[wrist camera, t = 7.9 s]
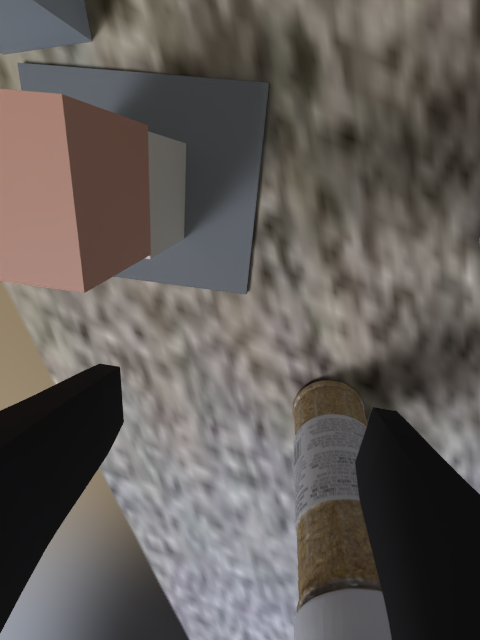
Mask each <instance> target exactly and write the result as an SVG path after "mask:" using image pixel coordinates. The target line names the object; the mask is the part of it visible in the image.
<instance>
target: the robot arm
mask: <svg viewBox="0 0 480 640" xmlns="http://www.w3.org/2000/svg"><path fill="white" fill-rule="evenodd" d="M479 244H480V238H479ZM123 422H124V419H123V405H122V390H121V376H120V367H117V366H111V365H104V364H98V365H96V366H93V367H91V368H89V369H87V370H85V371H83V372H80V373H78V374H76V375H74V376H72V377H70V378H68V379H66V380H64V381H62V382H60V383H58V384H56V385H54V386H52V387H50V388H48V389H46V390H44V391H42V392H40V393H38V394H36V395H34V396H32V397H29V398H27V399H25V400H23V401H21V402H19V403H17V404H14V405H13V406H10V407H8V408H5V409H3V410H1V411H0V633H1V631H2V629H3V627H4V625H5V623H6V621H7V619H8V618H9V616H10V614H11V612H12V610H13V608H14V606H15V604H16V602H17V600H18V599H19V597H20V595H21V593H22V591H23V589H24V587H25V585H26V583H27V582H28V580H29V578H30V577H31V575H32V573H33V571H34V569H35V567H36V566H37V564H38V562H39V560H40V558H41V557H42V555H43V553H44V551H45V549H46V548H47V546H48V544H49V543H50V541H51V539H52V538H53V536H54V535H55V533H56V531H57V530H58V528H59V527H60V525H61V524H62V522H63V521H64V519H65V518H66V516H67V515H68V513H69V512H70V510H71V509H72V507H73V506H74V504H75V503H76V501H77V500H78V498H79V497H80V495H81V494H82V492H83V491H84V489H85V488H86V486H87V485H88V483H89V482H90V480H91V479H92V477H93V476H94V474H95V473H96V471H97V470H98V468H99V467H100V465H101V464H102V462H103V461H104V459H105V458H106V456H107V454H108V453H109V451H110V449H111V447H112V445H113V443H114V441H115V439H116V437H117V435H118V433H119V431H120V429H121V427H122V425H123ZM355 466H356V475H357V484H358V492H359V499H360V504H361V508H362V512H363V516H364V521H365V525H366V529H367V533H368V537H369V541H370V545H371V549H372V553H373V557H374V561H375V565H376V569H377V573H378V577H379V581H380V585H381V589H382V593H383V597H384V602H385V607H386V611H387V616H388V621H389V626H390V632H391V639H392V640H480V494H479V493H478V492H477V491H476V490H474V489H473V488H472V487H471V486H470V485H469V484H468V483H467V482H466V481H465V480H464V479H463V478H462V477H461V476H460V475H459V474H458V473H457V472H456V471H455V470H454V469H453V468H452V467H451V466H450V465H449V464H448V463H447V462H446V461H445V460H444V459H443V458H442V457H441V456H440V455H439V454H438V453H437V452H436V451H435V450H434V449H433V448H432V447H431V446H430V445H429V444H428V442H427V441H426V440H425V439H424V438H423V437H422V436H421V435H420V434H419V433H418V432H417V431H416V430H415V429H414V428H413V427H412V426H411V425H410V424H409V423H408V422H407V421H406V420H405V419H404V418H403V417H402V416H401V415H400V414H399V413H398V412H397V411H392V410H386V409H380V408H374V407H373V410H372V413H371V416H370V419H369V422H368V425H367V428H366V431H365V434H364V437H363V440H362V443H361V446H360V449H359V452H358V455H357V458H356V461H355Z"/></svg>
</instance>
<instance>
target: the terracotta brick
mask: <svg viewBox="0 0 480 640" xmlns="http://www.w3.org/2000/svg"><path fill="white" fill-rule="evenodd" d="M150 255H151V235H150V192H149V149H148V125H146V124H143V123H141V122H138V121H135V120H132V119H129V118H127V117H124V116H121V115H118V114H116V113H113V112H110V111H107V110H105V109H102V108H99V107H96V106H94V105H91V104H88V103H85V102H83V101H80V100H77V99H74V98H72V97H69V96H66V95H63V94H57V93H44V92H32V91H20V90H8V89H0V281H2V282H10V283H17V284H24V285H31V286H39V287H46V288H53V289H61V290H68V291H75V292H82V293H85V292H87V291H88V290H90V289H92V288H94V287H95V286H97V285H99V284H101V283H102V282H104V281H106V280H108V279H109V278H111V277H113V276H115V275H116V274H118V273H120V272H122V271H123V270H125V269H127V268H129V267H130V266H132V265H134V264H136V263H137V262H139V261H141V260H143V259H144V258H146V257H148V256H150Z"/></svg>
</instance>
